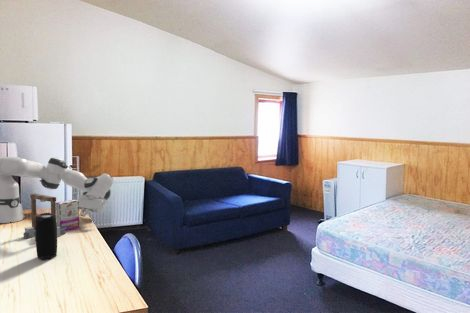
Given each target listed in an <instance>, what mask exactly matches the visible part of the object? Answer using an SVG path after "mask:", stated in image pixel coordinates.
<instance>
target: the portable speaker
mask: <svg viewBox="0 0 470 313" xmlns="http://www.w3.org/2000/svg"><path fill="white" fill-rule="evenodd" d="M35 231H36V242H35V248H36V256H37V258H38V259H40V261H48V260H51V259H52V258H53V257H57V254H58V237H57V222H56V214H51V212H44V213H43V212H42V213H40V214H38V215H36V228H35Z"/></svg>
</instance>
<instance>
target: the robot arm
mask: <svg viewBox="0 0 470 313" xmlns="http://www.w3.org/2000/svg"><path fill="white" fill-rule="evenodd" d="M67 168H68V165H67V164H66V161H65V160H63V159H62V158H60V157H50V159H48V162H47V165H45V164H43V163H42V162H38V161H35V160H29V159H25V158H22V157H17V156H0V224H9V223H10V222H11V223H17V222H20V221H23V220H24V218H26V215H25V214H24V211H23V204H21V196H20V186H19V183H18V182H17V181H16V180H15V179H14V178H13V176H14V177H15V176H16V177H21V178H36V179H37V178H38V179H40V180H39V182H40V184H41V185H42V187H43V188H45V189H47V190H51V191H52V190H56V189H58V188H59V187H60V185H61V184H60V183H61V181H62V182H63V183H64V184H65V185H67V186H69V187H71V188H74V189H77V190H80V191H83V192H82V193H81V195H80V196H79V198H78V199H77V200H78V201H79V210H81V212H79V217H85V218H86V216H87V215H88V214H89V213H91V212H94V213H99V214H100V213H101V212H102V211H103V209H104V207H105V204H106V202H107V200H109V199H110V197H111V187H112V186H113V184H114V178H113V177H112V176H111V175H110V174H108V173H102V174H101V175H99V176H89V177H86V176H85V174H83V173H82V172H80V171H78V170H74V169H67Z"/></svg>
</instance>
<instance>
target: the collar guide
mask: <svg viewBox="0 0 470 313" xmlns="http://www.w3.org/2000/svg"><path fill="white" fill-rule="evenodd" d="M64 235H66V232H65V229H64V228H61V229H60V227H57V238H59V237H61V236H64ZM32 238H34V242H35V243H36V231H35V230H34V227H32V226H27V227H24V232H23V239H24V240H27V239H32Z"/></svg>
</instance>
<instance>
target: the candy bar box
mask: <svg viewBox="0 0 470 313" xmlns="http://www.w3.org/2000/svg"><path fill="white" fill-rule="evenodd" d="M56 223H57V227H60V229H61V228H64V229H65V233H66V232H69V231H75V230H79V229H80V209H79V201H78V199H70V200H64V201H63V200H62V201H56Z"/></svg>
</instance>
